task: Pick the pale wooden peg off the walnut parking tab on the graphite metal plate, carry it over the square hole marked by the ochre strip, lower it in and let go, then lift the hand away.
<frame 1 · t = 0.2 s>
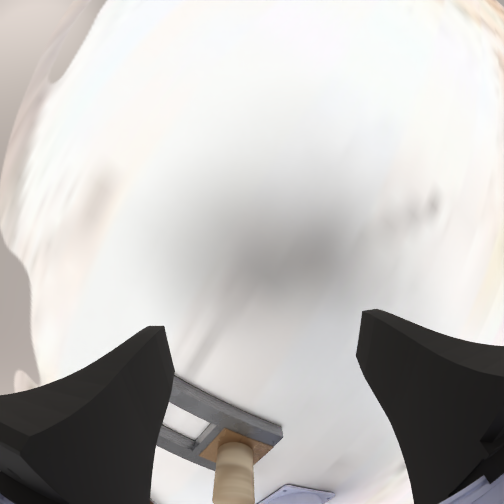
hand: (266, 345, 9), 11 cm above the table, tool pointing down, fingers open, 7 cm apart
plate: (207, 429, 21), on the table
peg: (235, 452, 20), point 2 cm above the table, touching plate
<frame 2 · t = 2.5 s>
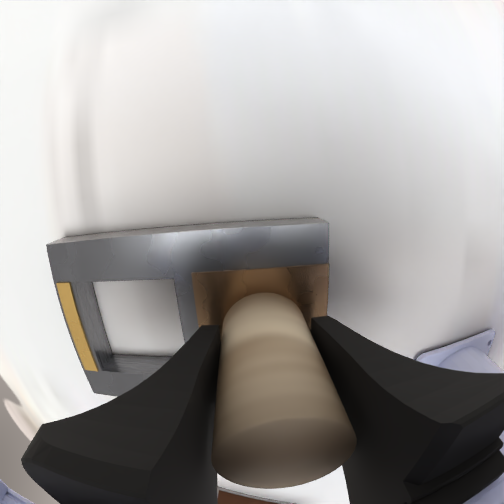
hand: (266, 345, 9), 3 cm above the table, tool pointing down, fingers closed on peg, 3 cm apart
plate: (193, 315, 12), on the table
peg: (263, 330, 10), point 2 cm above the table, touching gripper, plate
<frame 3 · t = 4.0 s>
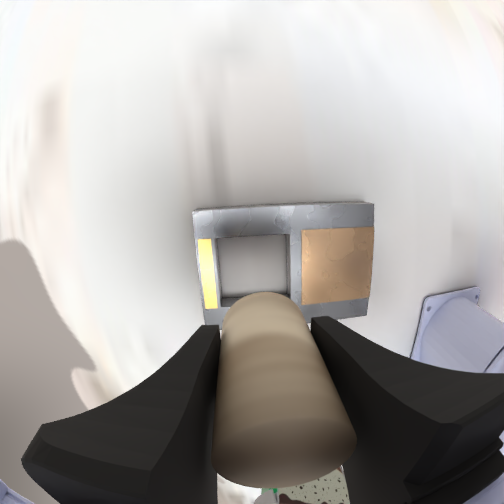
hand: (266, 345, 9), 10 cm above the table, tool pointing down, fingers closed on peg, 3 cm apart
plate: (289, 262, 19), on the table
peg: (263, 329, 10), point 9 cm above the table, touching gripper
food container: (287, 450, 25), on the table
when the fingers open (4 cm above the table, at t = 5.7 s): peg drops 3 cm, resting in plate.
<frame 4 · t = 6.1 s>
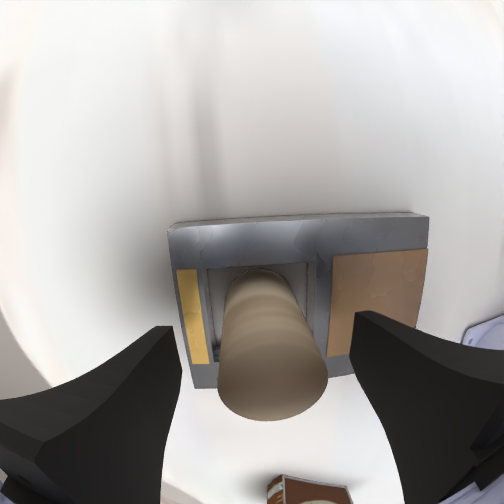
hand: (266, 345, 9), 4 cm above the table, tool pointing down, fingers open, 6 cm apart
plate: (311, 297, 13), on the table
peg: (259, 301, 13), resting in plate
food container: (294, 492, 19), on the table
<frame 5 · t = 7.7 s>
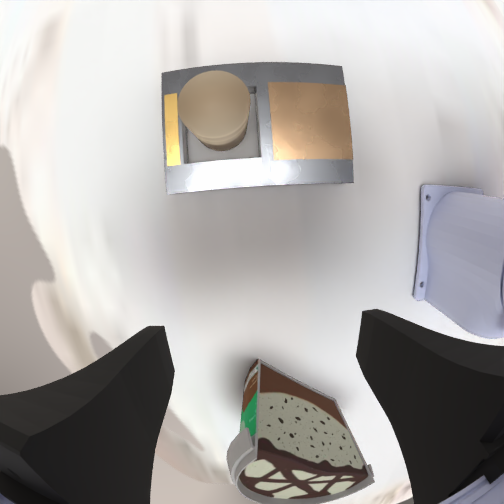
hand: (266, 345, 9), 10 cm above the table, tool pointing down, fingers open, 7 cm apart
plate: (260, 125, 16), on the table
peg: (221, 127, 16), resting in plate
food container: (277, 400, 22), on the table
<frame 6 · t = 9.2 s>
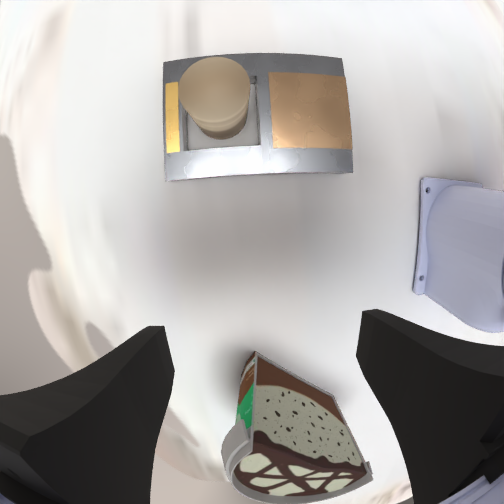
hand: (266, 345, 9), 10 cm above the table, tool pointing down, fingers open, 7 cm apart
plate: (260, 114, 16), on the table
peg: (221, 116, 16), resting in plate
food container: (273, 395, 22), on the table
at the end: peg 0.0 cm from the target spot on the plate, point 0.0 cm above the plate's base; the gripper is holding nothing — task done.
